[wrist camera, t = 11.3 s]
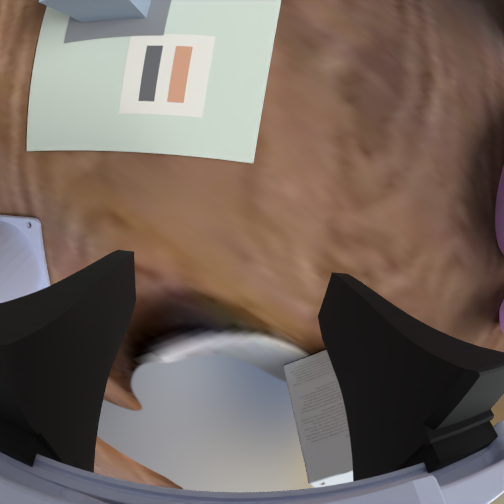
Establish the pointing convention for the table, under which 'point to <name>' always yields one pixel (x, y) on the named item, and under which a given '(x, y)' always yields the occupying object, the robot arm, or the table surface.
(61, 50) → the mat
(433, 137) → the table surface
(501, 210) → the container set
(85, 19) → the blue-grey rectangular block
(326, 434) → the skincare box
